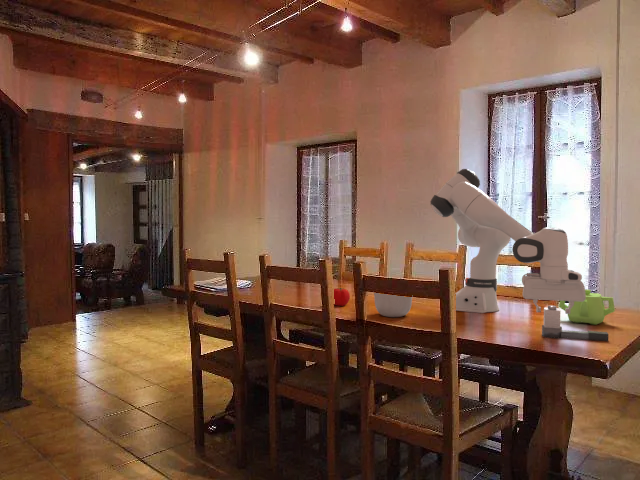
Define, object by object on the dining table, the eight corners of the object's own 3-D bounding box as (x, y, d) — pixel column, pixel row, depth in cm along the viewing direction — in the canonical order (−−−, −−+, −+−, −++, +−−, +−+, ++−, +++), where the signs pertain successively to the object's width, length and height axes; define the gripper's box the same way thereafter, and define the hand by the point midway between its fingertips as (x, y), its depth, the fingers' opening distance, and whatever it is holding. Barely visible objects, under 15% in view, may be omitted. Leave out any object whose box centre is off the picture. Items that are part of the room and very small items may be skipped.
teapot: (612, 330, 197) (613, 295, 196) (554, 324, 207) (555, 291, 206) (615, 321, 212) (616, 289, 211) (561, 316, 223) (561, 285, 222)
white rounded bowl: (375, 311, 235) (375, 277, 235) (413, 312, 232) (414, 278, 231) (371, 318, 219) (371, 282, 218) (412, 320, 215) (412, 283, 215)
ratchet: (542, 337, 184) (542, 316, 184) (541, 333, 190) (541, 313, 190) (609, 342, 177) (609, 320, 177) (606, 338, 183) (606, 316, 183)
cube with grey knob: (544, 327, 185) (544, 306, 184) (543, 324, 189) (544, 304, 189) (560, 328, 183) (560, 307, 183) (558, 325, 188) (559, 305, 187)
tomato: (325, 305, 249) (325, 288, 248) (337, 302, 257) (337, 285, 257) (342, 307, 244) (342, 289, 243) (354, 304, 252) (354, 287, 252)
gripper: (522, 273, 186) (521, 312, 187) (586, 275, 179) (585, 316, 180) (521, 271, 192) (521, 309, 193) (584, 273, 185) (583, 312, 186)
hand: (553, 312), depth 186 cm, fingers open, 8 cm apart
